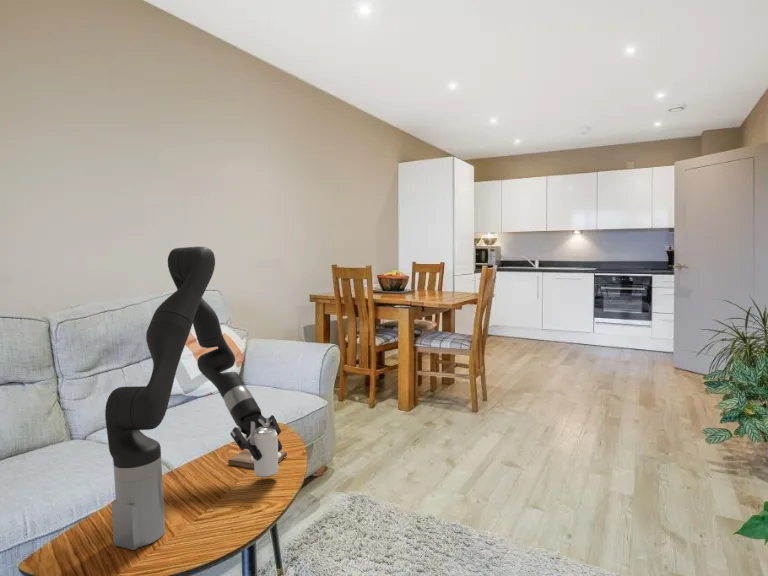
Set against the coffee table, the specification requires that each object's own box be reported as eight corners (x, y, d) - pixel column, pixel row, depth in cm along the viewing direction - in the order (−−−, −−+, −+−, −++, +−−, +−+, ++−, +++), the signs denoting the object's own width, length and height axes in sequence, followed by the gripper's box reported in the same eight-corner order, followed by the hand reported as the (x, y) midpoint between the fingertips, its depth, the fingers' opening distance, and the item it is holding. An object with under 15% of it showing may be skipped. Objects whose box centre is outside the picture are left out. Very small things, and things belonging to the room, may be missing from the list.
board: (268, 470, 134) (268, 464, 134) (228, 464, 140) (228, 458, 140) (288, 457, 144) (287, 451, 144) (249, 451, 149) (249, 446, 149)
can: (268, 479, 124) (266, 434, 123) (249, 475, 126) (247, 431, 126) (283, 469, 130) (282, 427, 129) (264, 466, 132) (263, 424, 132)
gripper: (225, 403, 126) (254, 455, 119) (267, 391, 138) (296, 439, 131) (214, 419, 130) (242, 471, 123) (256, 406, 141) (284, 453, 134)
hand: (270, 454), depth 127 cm, fingers closed on can, 6 cm apart
